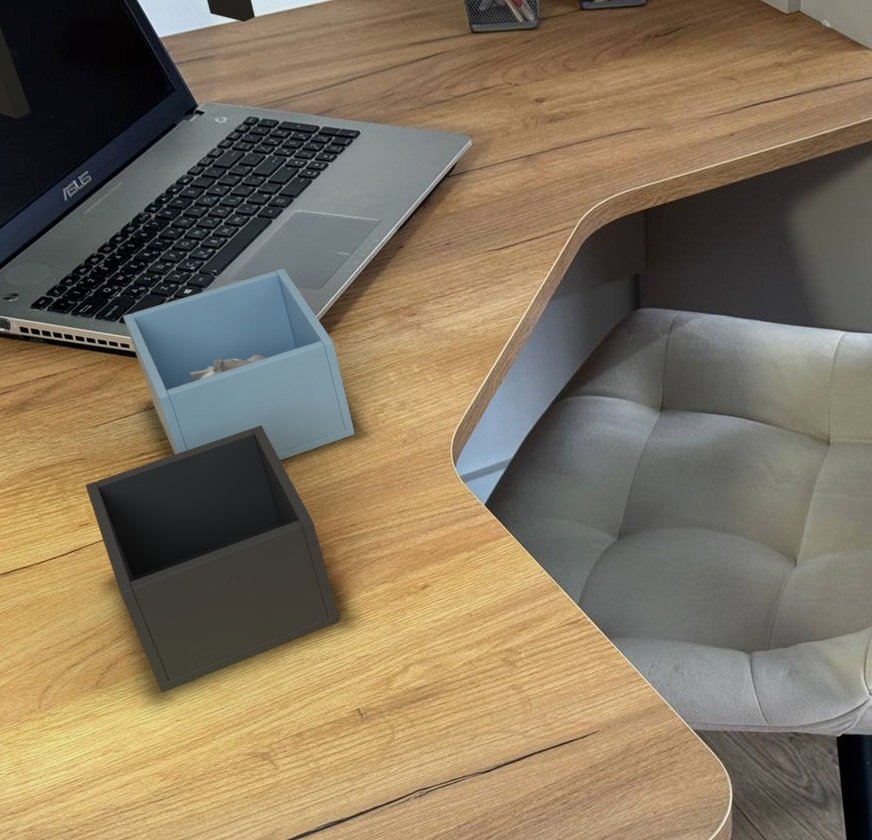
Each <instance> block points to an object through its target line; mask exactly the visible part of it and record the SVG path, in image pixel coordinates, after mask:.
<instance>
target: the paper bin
mask: <svg viewBox="0 0 872 840" xmlns="http://www.w3.org/2000/svg"><path fill="white" fill-rule="evenodd" d="M122 318H123V320H124V323H125V326H126V328H127V332H128V336H129V338H130V340H131V343H132V346H133V349H134V352H135V355H136V358H137V361H138V364H139V366H140V369H141V372H142V375H143V378H144V381H145V383H146V387H147V389H148V392H149V395H150V398H151V401H152V404H153V406H154V410H155V411H156V414H157V416H158V418H159V421H160V423H161V425H162V428H163V430H164V432H165V435H166V437H167V439H168V442H169V443H170V447H171V448H172V451H173V453H174V455H175V454H178V453H181V452H184V451H187V450H190V449H193V448H195V447H198V446H201V445H204V444H207V443H210V442H213V441H216V440H219V439H222V438H225V437H228V436H231V435H234V434H237V433H240V432H243V431H246V430H249V429H252V428H255V427H258V426H262V427H263V429H264V431H265V433H266V435H267V437H268V439H269V441H270V442H271V444H272V446H273V448H274V450H275V452H276V454H277V456H278V457H279V459H280V461H282V460H283V461H284V460H285V459H288V458H291V457H295V456H297V455H300V454H302V453H306V452H308V451H312V450H314V449H318V448H321V447H323V446H325V445H326V446H327V445H329V444H331V443H334V442H337V441H340V440H344V439H346V438H348V437H349V438H350V437H351V436H354V435H355V429H354V425H353V424H354V423H353V421H352V416H351V412H350V408H349V403H348V400H347V396H346V391H345V386H344V382H343V379H342V374H341V370H340V365H339V361H338V357H337V353H336V348H335V345H334V341H333V340H332V338H331V337H330V335H329V334H328V332H327V331H326V329H325V328H324V326H323V324H321V322H320V320H319V319H318V317H317V315H316V314H315V313H314V311H313V309H312V308H311V307H310V305H309V304H308V303H307V301H306V300H305V298H304V297H303V295H302V293H301V292H300V290H299V288H297V286H296V284H295V283H294V281H293V280H292V278H291V277H290V276H289V274H288V272H287V271H286V269H285V268H280V269H277V270H276V269H275V270H273V271H270V272H265V273H263V274H260V275H255V276H253V277H250V278H246V279H243V280H240V281H236V282H233V283H229V284H226V285H223V286H219V287H215V288H213V289H210V290H206V291H201V292H199V293H195V294H192V295H189V296H185V297H183V298H179V299H176V300H173V301H169V302H165V303H161V304H158V305H155V306H152V307H149V308H145V309H142V310H139V311H135V312H132V313H129V314H126V315H123V317H122ZM191 346H192V347H191ZM253 355H262V356H265V357H268V358H266V359H262V360H259V361H256V362H253V363H250V364H247V365H244V366H241V367H237V368H234V369H231V370H228V371H225V372H222V373H219V374H216V375H213V376H209V377H206V378H203V379H200V380H197V381H194V382H192V379H191V376H190V373H191V372H195V371H202V370H205V369H207V368H208V367H211V366H214V365H213V360H220V358H223V359H225V360H228V359H232V360H233V359H239V360H248V359H250V358H251V357H252V356H253ZM180 385H181V386H180ZM177 386H178V387H177Z"/></svg>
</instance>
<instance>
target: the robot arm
mask: <svg viewBox="0 0 872 840" xmlns="http://www.w3.org/2000/svg"><path fill="white" fill-rule="evenodd" d="M206 1H207V6H208V9H209V14H211V15H214V16H219V17H223V18H226V19H230V20H235V21H239V22H244V23H245V22H247V21H249V20H250V21H251V19H252V20H253V19H254V18H256V15H255V11H254V7H253V3H252V0H206ZM31 113H32V112H31V109H30V106H29V103H28V101H27V97H26V95H25V92H24V90H23V87H22V84H21V81H20V78H19V75H18V73H17V70H16V67H15V64H14V62H13V58H12V56H11V53H10V51H9V47H8V44H7V42H6V39H5V36H4V33H3V30H2V28H1V27H0V114H2V115H5V116H7V117H10V118H13V119H17V120H18V119H19V118H22V117H25V116H26V115H29V114H31Z"/></svg>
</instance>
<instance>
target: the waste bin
mask: <svg viewBox="0 0 872 840" xmlns="http://www.w3.org/2000/svg"><path fill="white" fill-rule="evenodd" d="M85 488H86V492H87V494H88V498H89V501H90V504H91V507H92V510H93V513H94V516H95V519H96V523H97V525H98V529H99V532H100V535H101V538H102V542H103V545H104V547H105V550H106V553H107V556H108V559H109V562H110V565H111V569H112V572H113V575H114V578H115V581H116V584H117V586H118V590H119V593H120V596H121V598H122V601H123V604H124V606H125V608H126V610H127V613H128V615H129V618H130V620H131V622H132V625H133V628H134V630H135V633H136V635H137V637H138V640H139V642H140V645H141V647H142V649H143V652H144V655H145V657H146V660H147V662H148V664H149V666H150V669H151V671H152V675H153V677H154V679H155V681H156V684H157V686H158V688H159V692H160V693H164V692H167V691H169V690H172V689H175V688H177V687H179V686H182V685H184V684H187V683H190V682H192V681H194V680H197V679H199V678H203V677H204V676H207V675H209V674H211V673H214V672H217V671H219V670H221V669H224V668H227V667H229V666H232V665H234V664H237V663H239V662H242V661H244V660H246V659H249V658H251V657H254V656H257V655H259V654H262V653H265V652H266V651H269V650H272V649H274V648H277V647H279V646H282V645H285V644H286V643H289V642H292V641H294V640H297V639H299V638H302V637H305V636H307V635H309V634H312V633H314V632H317V631H319V630H321V629H324V628H327V627H330V626H332V625H335V624H336V623H339V622H340V621H341V619H340V616H339V615H340V614H339V612H338V607H337V604H336V601H335V597H334V593H333V590H332V586H331V583H330V578H329V575H328V572H327V568H326V564H325V561H324V558H323V557H324V556H323V553H322V550H321V546H320V542H319V538H318V535H317V532H316V528H315V524H314V521H313V519H312V517H311V516H310V514H309V512H308V510H307V508H306V506H305V504H304V503H303V501H302V499H301V497H300V495H299V493H298V491H297V490H296V488H295V485H294V484H293V482H292V480H291V478H290V476H289V474H288V472H287V470H286V469H285V467H284V465H283V463H282V460H280V459H279V457H278V456H277V454H276V452H275V450H274V448H273V446H272V444H271V442H270V441H269V439H268V437H267V435H266V433H265V431H264V429H263V427H262V426H258V427H255V428H252V429H249V430H246V431H243V432H240V433H237V434H234V435H231V436H228V437H225V438H222V439H219V440H216V441H213V442H210V443H207V444H204V445H201V446H198V447H195V448H193V449H190V450H187V451H184V452H181V453H178V454H175V453H174V454H171V455H169V456H166V457H163V458H160V459H157V460H155V461H151V462H149V463H146V464H143V465H140V466H137V467H133V468H130V469H128V470H125V471H122V472H119V473H116V474H113V475H110V476H107V477H103V478H101V479H98V480H96V481H93V482H90V483H87V484H85Z"/></svg>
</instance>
